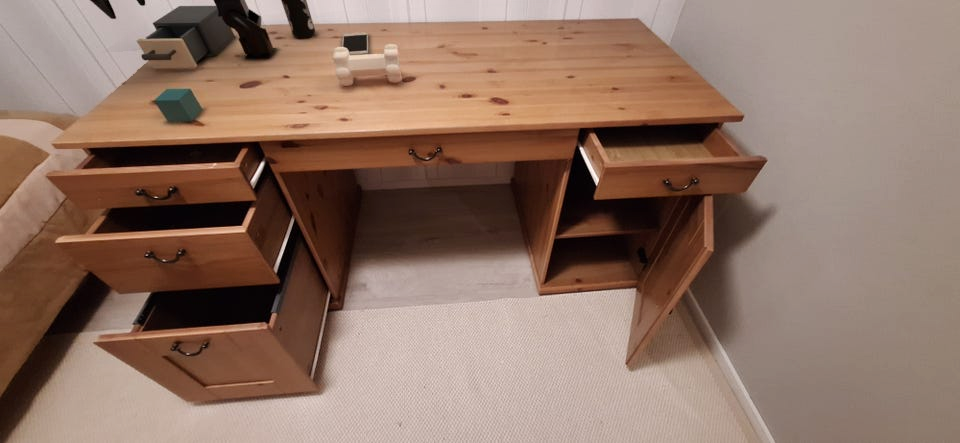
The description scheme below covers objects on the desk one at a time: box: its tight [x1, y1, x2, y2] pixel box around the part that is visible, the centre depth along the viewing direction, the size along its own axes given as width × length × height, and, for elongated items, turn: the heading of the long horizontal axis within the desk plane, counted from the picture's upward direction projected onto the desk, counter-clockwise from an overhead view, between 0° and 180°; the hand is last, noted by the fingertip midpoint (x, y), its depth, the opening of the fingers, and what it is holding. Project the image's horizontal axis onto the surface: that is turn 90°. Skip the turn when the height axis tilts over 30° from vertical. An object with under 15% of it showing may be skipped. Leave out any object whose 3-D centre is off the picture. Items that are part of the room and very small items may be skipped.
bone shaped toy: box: [332, 43, 403, 87], centre depth 91 cm, size 15×9×8 cm, turn 99°
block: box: [153, 88, 203, 123], centre depth 80 cm, size 5×5×5 cm
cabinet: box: [152, 5, 236, 57], centre depth 105 cm, size 14×12×9 cm
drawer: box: [136, 26, 210, 69], centre depth 97 cm, size 17×10×7 cm, turn 3°
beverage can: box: [280, 0, 316, 39], centre depth 110 cm, size 7×7×12 cm
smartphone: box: [341, 31, 370, 55], centre depth 108 cm, size 7×16×1 cm, turn 12°
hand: (128, 11), depth 89 cm, fingers open, 9 cm apart
